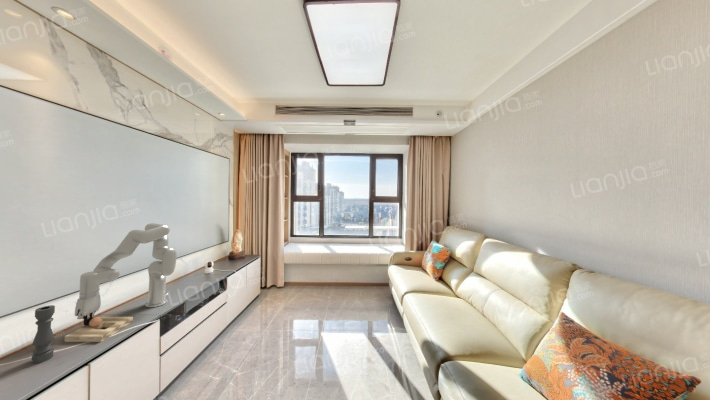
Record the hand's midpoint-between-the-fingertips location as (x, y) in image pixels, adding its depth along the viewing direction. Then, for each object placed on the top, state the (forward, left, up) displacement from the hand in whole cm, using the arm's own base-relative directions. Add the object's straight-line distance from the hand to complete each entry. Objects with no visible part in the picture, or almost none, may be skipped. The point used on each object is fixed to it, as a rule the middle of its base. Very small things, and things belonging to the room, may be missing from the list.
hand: (87, 324), depth 133 cm
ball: (0, +4, +2) cm, 5 cm away
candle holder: (+23, +2, -4) cm, 23 cm away
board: (0, +7, -4) cm, 8 cm away
